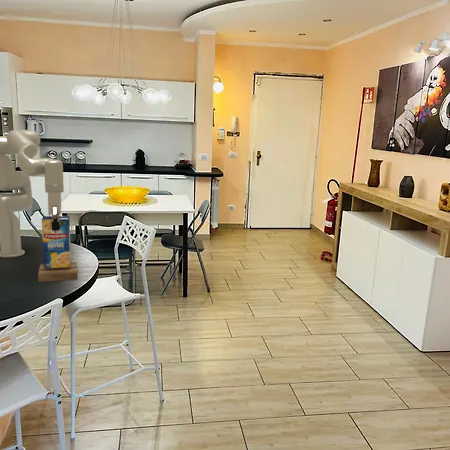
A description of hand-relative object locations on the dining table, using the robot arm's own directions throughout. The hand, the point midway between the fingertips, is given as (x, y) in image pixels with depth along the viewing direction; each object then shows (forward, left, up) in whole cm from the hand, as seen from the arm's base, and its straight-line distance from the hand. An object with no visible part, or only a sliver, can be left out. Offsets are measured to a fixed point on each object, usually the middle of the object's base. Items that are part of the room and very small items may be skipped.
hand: (56, 228), depth 194 cm
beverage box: (0, 0, -17) cm, 17 cm away
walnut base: (0, 0, -22) cm, 22 cm away
